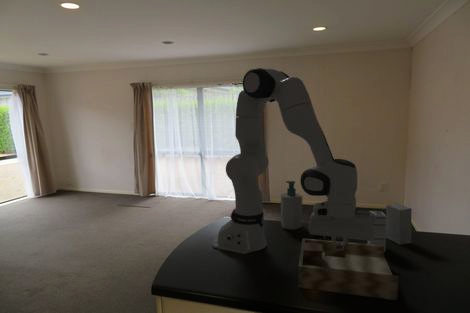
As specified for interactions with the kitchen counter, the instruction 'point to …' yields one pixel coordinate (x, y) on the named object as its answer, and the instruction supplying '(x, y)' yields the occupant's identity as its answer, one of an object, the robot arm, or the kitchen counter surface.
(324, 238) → the kendama
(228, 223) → the robot arm
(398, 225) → the skincare box
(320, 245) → the walnut block
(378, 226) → the syrup box
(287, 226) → the soap bottle
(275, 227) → the kitchen counter surface
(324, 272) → the tray
